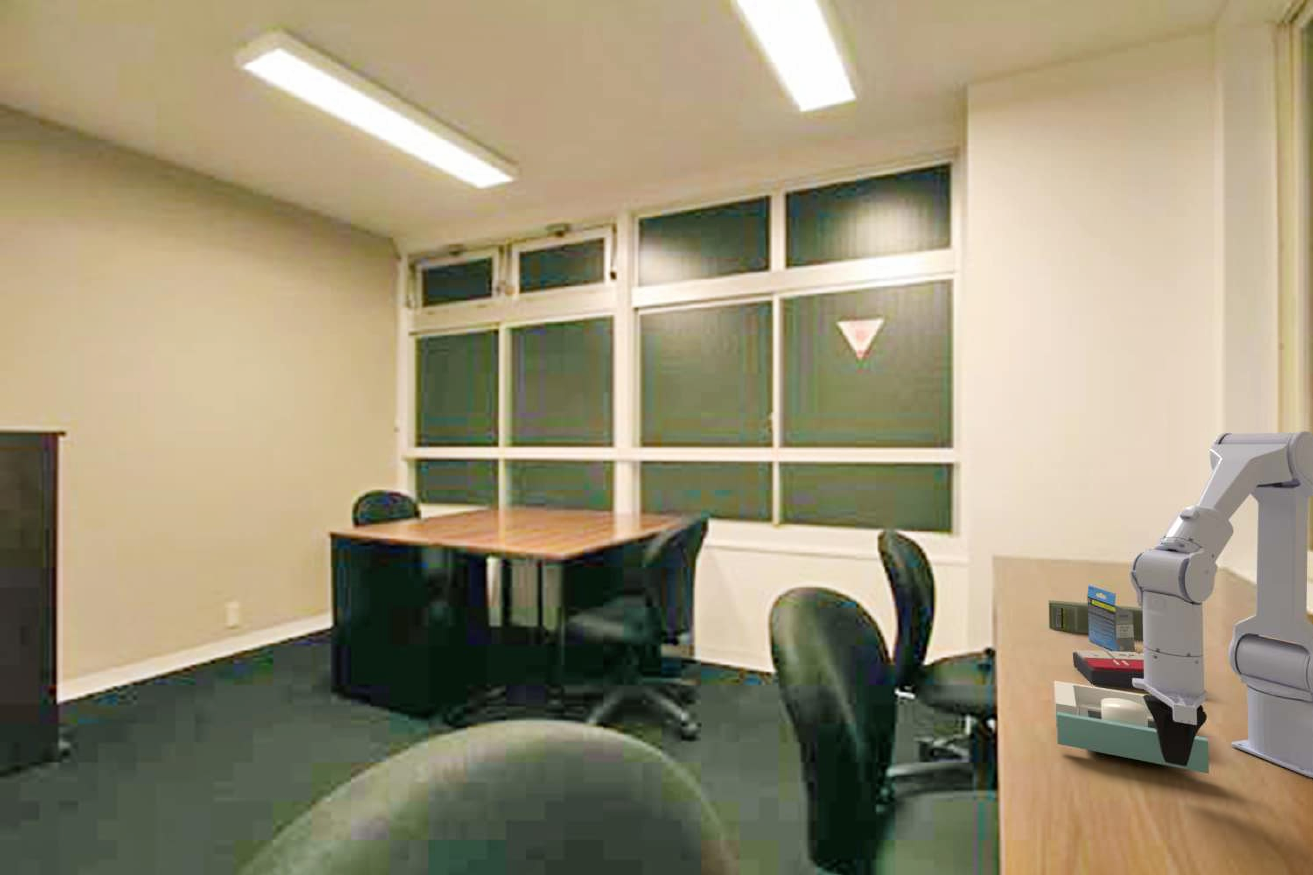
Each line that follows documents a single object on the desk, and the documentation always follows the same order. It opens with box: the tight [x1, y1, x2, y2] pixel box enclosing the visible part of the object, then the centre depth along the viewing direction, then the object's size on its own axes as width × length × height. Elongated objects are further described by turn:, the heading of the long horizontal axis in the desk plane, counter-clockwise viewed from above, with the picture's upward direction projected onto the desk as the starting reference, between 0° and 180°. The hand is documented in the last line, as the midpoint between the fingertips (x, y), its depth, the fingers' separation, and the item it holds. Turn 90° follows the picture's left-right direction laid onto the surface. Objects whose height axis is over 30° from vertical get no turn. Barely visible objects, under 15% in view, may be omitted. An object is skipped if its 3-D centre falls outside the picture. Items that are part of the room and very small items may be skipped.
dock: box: [1053, 680, 1153, 728], centre depth 97 cm, size 11×16×4 cm
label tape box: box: [1086, 584, 1136, 652], centre depth 135 cm, size 9×4×12 cm, turn 0°
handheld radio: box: [1048, 599, 1143, 640], centre depth 144 cm, size 7×3×25 cm
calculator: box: [1072, 649, 1144, 690], centre depth 116 cm, size 11×4×15 cm
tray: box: [1056, 706, 1210, 774], centre depth 89 cm, size 11×16×4 cm
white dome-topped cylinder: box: [1101, 698, 1148, 727], centre depth 89 cm, size 5×5×4 cm
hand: (1174, 762), depth 78 cm, fingers closed
